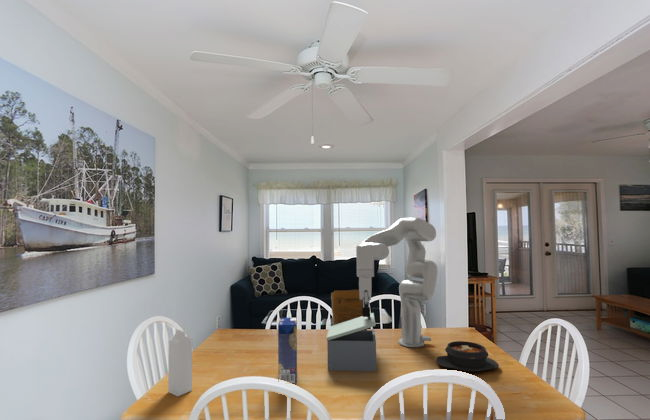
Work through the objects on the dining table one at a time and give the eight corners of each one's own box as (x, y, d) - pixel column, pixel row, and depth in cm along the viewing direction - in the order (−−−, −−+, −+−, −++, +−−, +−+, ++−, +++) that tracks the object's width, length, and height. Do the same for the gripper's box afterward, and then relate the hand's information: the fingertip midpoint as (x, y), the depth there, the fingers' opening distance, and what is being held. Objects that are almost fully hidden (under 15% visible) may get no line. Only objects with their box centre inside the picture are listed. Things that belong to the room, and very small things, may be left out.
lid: (374, 315, 166) (369, 300, 167) (375, 325, 150) (370, 309, 150) (330, 328, 168) (325, 314, 169) (327, 340, 151) (321, 324, 152)
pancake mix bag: (370, 349, 175) (369, 290, 176) (331, 347, 179) (330, 290, 180) (371, 344, 182) (370, 288, 183) (333, 343, 185) (332, 287, 186)
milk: (183, 386, 138) (183, 327, 139) (192, 390, 134) (192, 329, 135) (167, 392, 133) (168, 330, 134) (177, 397, 129) (177, 333, 130)
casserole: (441, 375, 145) (441, 354, 146) (431, 358, 164) (431, 339, 164) (506, 376, 144) (506, 355, 144) (489, 359, 162) (488, 339, 162)
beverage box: (297, 371, 150) (296, 317, 151) (296, 382, 140) (296, 324, 140) (280, 371, 150) (280, 317, 151) (278, 383, 139) (278, 325, 140)
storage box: (374, 357, 165) (374, 330, 166) (376, 371, 149) (375, 341, 150) (330, 356, 167) (330, 329, 168) (327, 370, 151) (327, 340, 152)
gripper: (356, 270, 168) (357, 310, 167) (356, 275, 151) (357, 320, 150) (373, 270, 167) (374, 310, 167) (375, 275, 150) (375, 320, 150)
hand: (366, 314), depth 158 cm, fingers closed on lid, 5 cm apart
